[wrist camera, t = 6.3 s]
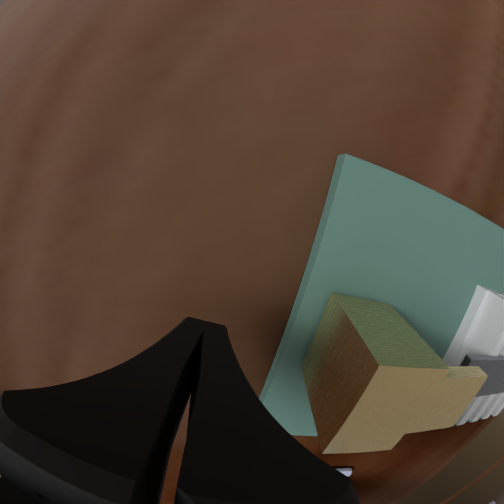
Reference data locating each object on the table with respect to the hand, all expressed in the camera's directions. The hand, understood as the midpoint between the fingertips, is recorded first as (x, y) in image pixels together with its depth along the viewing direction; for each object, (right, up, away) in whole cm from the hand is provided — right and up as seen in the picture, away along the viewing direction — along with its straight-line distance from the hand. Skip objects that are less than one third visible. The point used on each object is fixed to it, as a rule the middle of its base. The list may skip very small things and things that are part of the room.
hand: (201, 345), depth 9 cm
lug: (+8, -1, +3) cm, 8 cm away
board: (+15, -3, +5) cm, 16 cm away
